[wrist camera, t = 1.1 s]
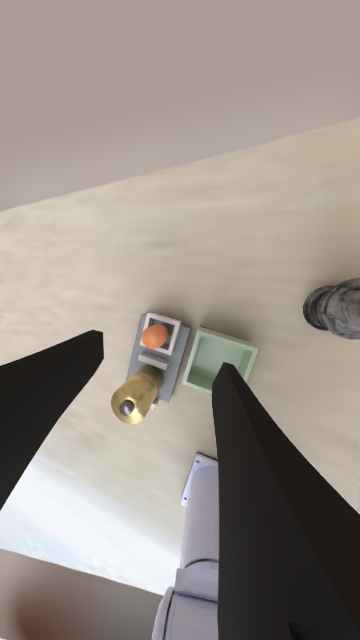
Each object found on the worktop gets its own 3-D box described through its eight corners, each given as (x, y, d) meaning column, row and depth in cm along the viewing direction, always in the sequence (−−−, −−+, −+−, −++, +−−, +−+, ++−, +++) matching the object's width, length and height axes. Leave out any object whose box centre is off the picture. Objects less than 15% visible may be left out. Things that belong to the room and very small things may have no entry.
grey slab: (169, 401, 23) (164, 415, 20) (128, 385, 24) (118, 396, 21) (192, 322, 21) (190, 325, 18) (147, 309, 22) (137, 309, 19)
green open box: (233, 388, 21) (238, 404, 18) (185, 371, 22) (181, 383, 19) (250, 341, 20) (258, 349, 16) (199, 326, 21) (197, 330, 18)
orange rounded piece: (166, 346, 19) (160, 352, 17) (147, 340, 20) (139, 345, 17) (171, 327, 19) (166, 330, 16) (152, 321, 19) (144, 323, 17)
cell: (159, 395, 22) (139, 434, 15) (134, 385, 22) (104, 419, 16) (166, 370, 21) (148, 399, 14) (140, 360, 22) (111, 384, 15)
